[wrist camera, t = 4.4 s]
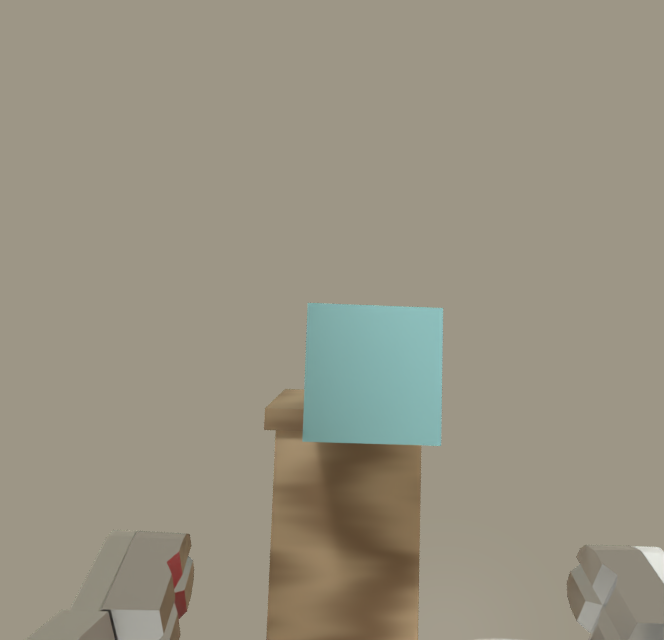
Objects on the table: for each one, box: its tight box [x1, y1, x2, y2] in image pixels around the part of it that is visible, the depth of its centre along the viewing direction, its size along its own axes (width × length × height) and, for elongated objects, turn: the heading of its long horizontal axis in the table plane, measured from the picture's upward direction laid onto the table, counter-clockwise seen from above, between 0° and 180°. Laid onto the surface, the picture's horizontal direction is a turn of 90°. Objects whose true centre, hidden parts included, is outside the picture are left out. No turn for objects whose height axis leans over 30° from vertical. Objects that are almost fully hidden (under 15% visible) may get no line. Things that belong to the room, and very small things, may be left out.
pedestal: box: [264, 389, 421, 640], centre depth 28 cm, size 9×15×26 cm, turn 2°
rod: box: [302, 303, 443, 446], centre depth 24 cm, size 4×22×4 cm, turn 2°
